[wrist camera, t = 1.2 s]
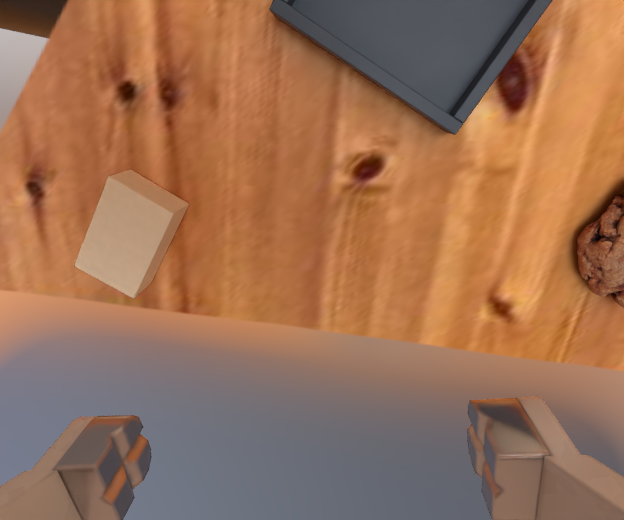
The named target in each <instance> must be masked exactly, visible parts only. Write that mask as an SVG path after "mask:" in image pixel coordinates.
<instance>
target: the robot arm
mask: <svg viewBox="0 0 624 520" xmlns="http://www.w3.org/2000/svg"><path fill="white" fill-rule="evenodd" d="M468 415H469V418H470V421H471V423H472V424H471V425H470V426H469V427H468V429H467V441H468V448H469V454H470V458H471V462H472V465H473V468H474V471H475V473H476V474H477V475H478V476H480V477H481V478H482V493H483V496H484V499H485V502H486V504H487V507H488V510H489V513H490V515H491V518H492V520H624V477H623V476H621V475H619V474H618V473H616V472H615V471H613V470H611V469H610V468H608V467H607V466H605V465H603V464H602V463H600V462H599V461H597V460H595V459H594V458H592V457H591V456H589V455H580V453H579V452H578V450H577V449H576V447H575V446H574V444H573V443H572V441H571V440H570V439H569V437H568V436H567V434H566V433H565V431H564V430H563V428H562V427H561V425H560V424H559V422H558V421H557V420H556V418H555V417H554V415H553V414H552V412H551V411H550V409H549V408H548V406H547V405H546V403H545V402H544V400H543V399H542V398H540V397H538V396H534V397H518V398H505V399H486V400H470V401H469V404H468ZM142 428H143V426H142V423H141V421H140V419H139V417H137V416H134V415H133V416H132V415H131V416H98V417H79V418H77V419H75V420H73V422H71V424H70V425H69V426H68V427H67V428H66V430H65V431H64V432H63V433H62V434H61V435H60V437H59V438H58V439H57V440H56V441H55V443H54V444H53V445H52V446H51V447H50V448H49V450H48V451H47V452H46V453H45V454H44V455H43V457H42V458H41V459H40V460H39V461H38V463H37V464H36V465H35V466H34V467H33V468H32V470H31V471H24V472H23V473H21V474H19V475H18V476H16V477H15V478H13V479H11V480H10V481H8V482H7V483H5V484H3V485H2V486H0V520H123V518H124V516H125V515H126V513H127V511H128V509H129V507H130V505H131V503H132V501H133V499H134V494H133V489H134V488H135V487H136V486H138V485H139V484H140V483H141V482H142V481H143V480H144V478H145V476H146V474H147V472H148V470H149V466H150V461H151V448H150V445H149V442H148V440H147V439H146V438H144V437H143V436H142V435H140V432H141V430H142Z"/></svg>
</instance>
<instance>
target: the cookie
mask: <svg viewBox="0 0 624 520" xmlns="http://www.w3.org/2000/svg"><path fill="white" fill-rule="evenodd" d="M623 188H624V186H623ZM577 242H578V250H577V254H578V267H579V269H580V274H581V276H582V277H583V278H584V279H585V280H586V281H587V284H588V285H589V286H590V290H592V292H593V293H595V294H596V295H600V296H606V295H607V294H609V293H610V294H611V296H612V298H613V299H614V300H615V301H616V302H617V303H618V304H619V305H620V306H622V307H624V196H622V195H616V196H615V198H614V200H613V201H612V203H611V205H610V206H608V207H607V210H606V211H605V212H604V213H603V214H602V216H601V218H600V219H598V221H597V222H595V221H594V222H593V223H591V224H589V225H588V226H587V227H586V228H585V229H584V230H583V232H582V233H581V234H580V235H579V237H578V240H577Z"/></svg>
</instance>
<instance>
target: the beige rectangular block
mask: <svg viewBox="0 0 624 520" xmlns="http://www.w3.org/2000/svg"><path fill="white" fill-rule="evenodd" d="M188 206H189V203H187V202H185V201H184V200H182V199H180V198H179V197H177V196H175V195H173V194H172V193H170V192H168V191H167V190H165V189H163V188H162V187H160V186H158V185H156V184H155V183H153V182H151V181H150V180H148V179H146V178H144V177H143V176H141V175H139V174H138V173H136V172H134V171H133V170H131V169H130V170H127V171H123V172H120V173H117V174H114V175H111V176H108V178H107V181H106V184H105V186H104V189H103V191H102V194H101V197H100V199H99V202H98V205H97V207H96V210H95V212H94V215H93V218H92V220H91V223H90V225H89V228H88V231H87V233H86V236H85V239H84V241H83V244H82V246H81V249H80V252H79V254H78V257H77V259H76V262H75V265H74V267H76V268H78V269H80V270H82V271H84V272H85V273H87V274H89V275H91V276H93V277H95V278H97V279H98V280H100V281H102V282H104V283H106V284H108V285H110V286H111V287H113V288H115V289H117V290H119V291H121V292H122V293H124V294H126V295H128V296H130V297H132V298H135V297H136V296H137V295H138V294H139V293H140V292H141V291H143V290H144V289H145V288H146V287H147V286H148V285H149V284H150V283H151V282H152V280H153V278H154V276H155V274H156V272H157V270H158V268H159V266H160V264H161V262H162V260H163V258H164V255H165V253H166V251H167V249H168V247H169V245H170V243H171V241H172V239H173V237H174V235H175V233H176V231H177V229H178V227H179V224H180V222H181V220H182V218H183V216H184V214H185V212H186V210H187V208H188Z"/></svg>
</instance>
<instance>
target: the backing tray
mask: <svg viewBox="0 0 624 520" xmlns="http://www.w3.org/2000/svg"><path fill="white" fill-rule="evenodd" d="M551 2H552V0H273V2H272V4H271V6H270V11H271V12H272V13H273V14H274V16H275V17H277V18H278V19H279V20H281V21H282V22H284V23H285V24H287V25H288V26H290V27H291V28H293V29H294V30H296V31H297V32H299V33H300V34H302V35H303V36H305V37H306V38H308V39H309V40H311V41H312V42H314V43H315V44H317V45H318V46H320V47H321V48H322V49H324V50H325V51H327V52H328V53H330V54H331V55H333V56H334V57H336V58H337V59H339V60H340V61H342V62H343V63H345V64H346V65H348V66H349V67H351V68H352V69H354V70H355V71H357V72H358V73H360V74H361V75H363V76H364V77H366V78H367V79H368V80H370V81H371V82H373V83H374V84H376V85H377V86H379V87H380V88H382V89H383V90H385V91H386V92H388V93H389V94H391V95H392V96H394V97H395V98H397V99H398V100H400V101H401V102H403V103H404V104H406V105H407V106H409V107H410V108H411V109H413V110H414V111H416V112H417V113H419V114H420V115H422V116H423V117H425V118H426V119H428V120H429V121H431V122H432V123H434V124H435V125H437V126H438V127H440V128H441V129H443V130H444V131H446V132H447V133H451V134H454V135H455V134H456V133H457V132H458V130H459V129H460V128H461V126H462V125H463V123H464V122H465V121H466V119H467V118H468V116H469V115H470V114H471V112H472V111H473V110H474V108H475V107H476V105H477V104H478V103H479V101H480V100H481V98H482V97H483V96H484V94H485V93H486V92H487V90H488V89H489V87H490V86H491V85H492V83H493V82H494V80H495V79H496V78H497V76H498V75H499V74H500V72H501V71H502V69H503V68H504V67H505V65H506V64H507V62H508V61H509V60H510V58H511V57H512V56H513V54H514V53H515V51H516V50H517V49H518V47H519V46H520V44H521V43H522V42H523V40H524V39H525V38H526V36H527V35H528V33H529V32H530V31H531V29H532V28H533V26H534V25H535V24H536V22H537V21H538V20H539V18H540V17H541V15H542V14H543V13H544V11H545V10H546V8H547V7H548V6H549V4H550V3H551Z"/></svg>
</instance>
